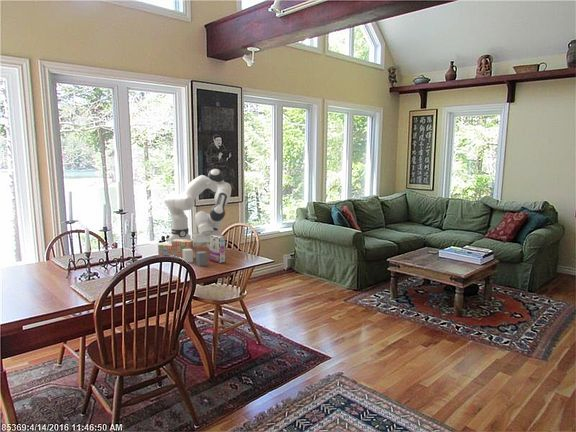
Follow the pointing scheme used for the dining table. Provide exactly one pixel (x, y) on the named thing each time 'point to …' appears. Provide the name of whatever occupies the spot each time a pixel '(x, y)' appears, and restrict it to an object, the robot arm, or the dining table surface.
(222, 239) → the candy bar box
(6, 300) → the dining table surface
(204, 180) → the robot arm
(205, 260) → the charcoal block
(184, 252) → the pale grey block
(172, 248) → the stack of blocks
